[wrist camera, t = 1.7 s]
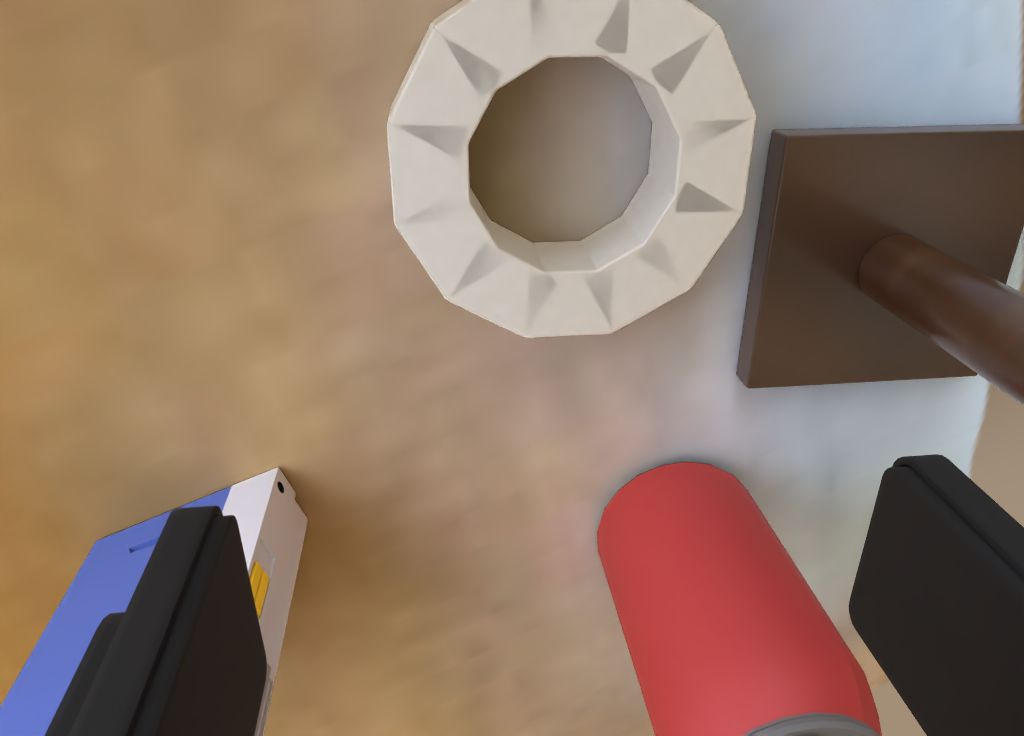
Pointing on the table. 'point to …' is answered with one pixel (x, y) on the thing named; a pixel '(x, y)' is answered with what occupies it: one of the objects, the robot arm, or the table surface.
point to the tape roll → (650, 214)
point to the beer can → (723, 614)
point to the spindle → (887, 258)
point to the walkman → (116, 573)
